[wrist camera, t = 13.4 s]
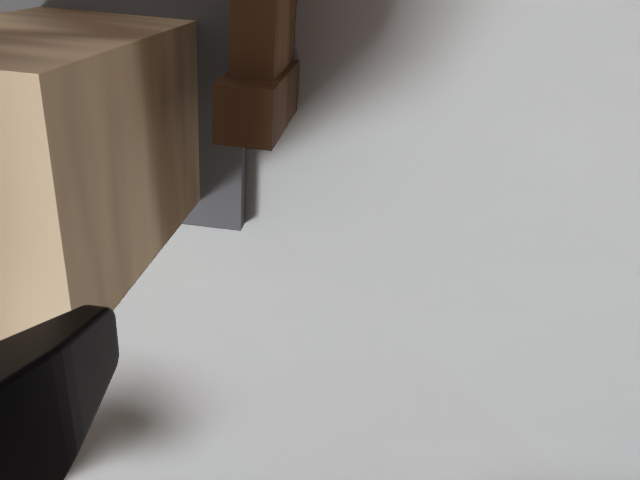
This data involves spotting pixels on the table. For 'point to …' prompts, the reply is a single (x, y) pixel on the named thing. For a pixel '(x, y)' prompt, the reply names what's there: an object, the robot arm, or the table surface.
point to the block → (91, 155)
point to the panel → (212, 63)
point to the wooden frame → (257, 76)
